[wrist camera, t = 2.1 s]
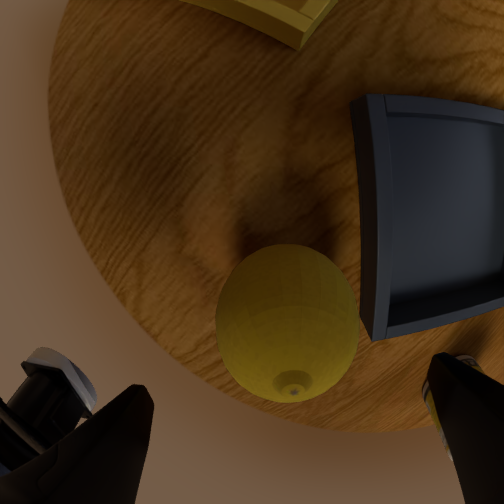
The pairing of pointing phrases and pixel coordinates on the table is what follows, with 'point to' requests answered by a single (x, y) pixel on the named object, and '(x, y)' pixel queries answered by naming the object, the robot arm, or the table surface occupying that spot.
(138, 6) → the table surface
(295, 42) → the yellow tray
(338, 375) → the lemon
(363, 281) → the slate tray
